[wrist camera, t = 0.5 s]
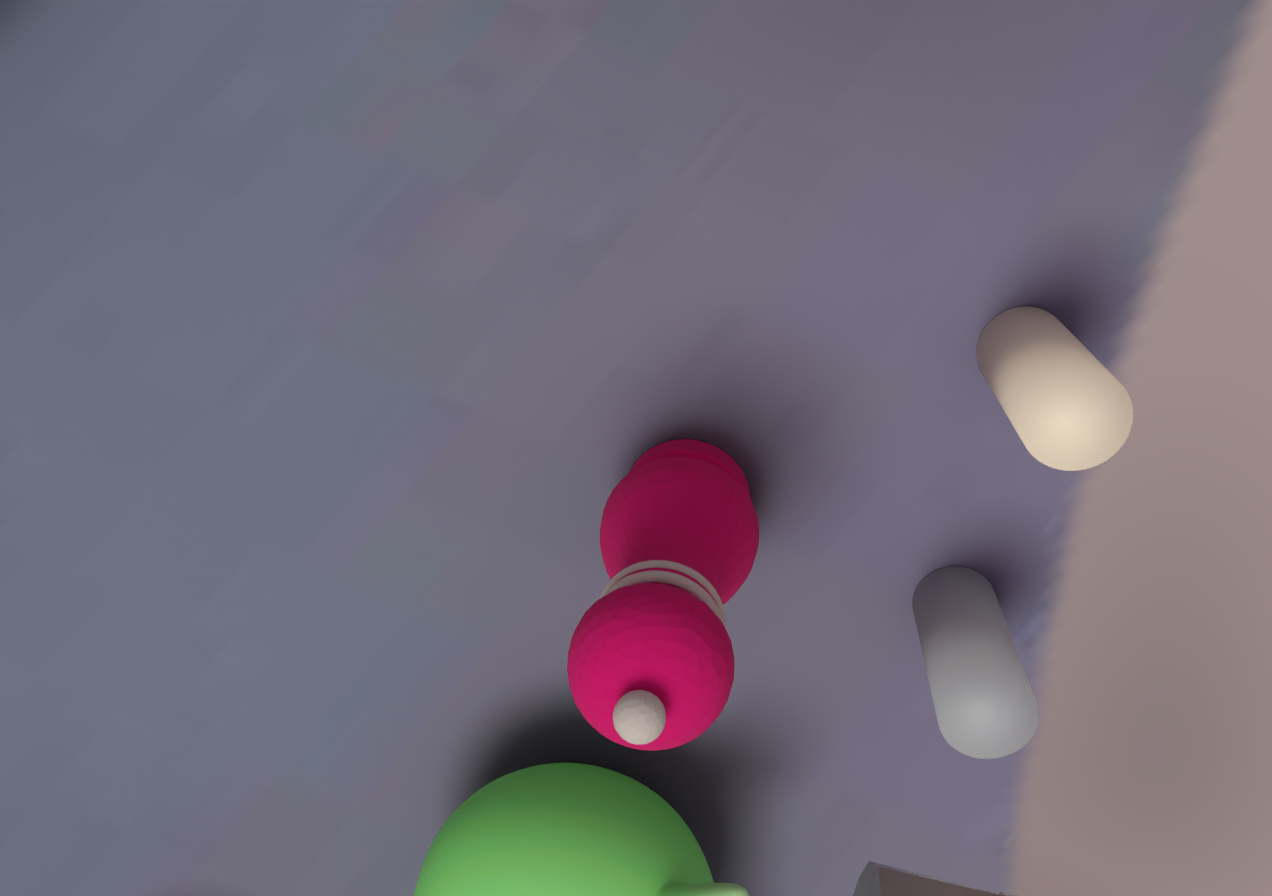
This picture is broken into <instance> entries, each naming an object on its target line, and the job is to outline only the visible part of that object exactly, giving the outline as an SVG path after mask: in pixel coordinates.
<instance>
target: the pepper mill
mask: <svg viewBox="0 0 1272 896" xmlns="http://www.w3.org/2000/svg"><path fill="white" fill-rule="evenodd" d="M758 543H759V526H758V519H757V515H756V512H755V509H754V506H753V504H752V501H751V495H750V489H749V485H748V482H747V479H746V477H745V474H744V473H743V471H742V469H741V468H740V466H739V465H738V464H737V463H736V462H735V461H734V460H733V458H732V457H731V456H730V455H728V454H727V453H725V452H724V451H723V450H721V449H720V448H718V447H716V446H714V445H711V444H709V443H706V442H702V441H699V440H691V439H679V440H672V441H668V442H664V443H661V444H659V445H657V446H655V447H653V448H651V449H649V450H648V451H647V452H645V453H644V454H643V455H642V456H641V457H640V458H639V459H638V460H637V461H636V462H635V464H634V465H633V467H632V468H631V470H630V472H629V474H628V475H627V476H625V477H624V478H623V479H622V480H621V481H620V482H619V484H618V485H617V486H616V487H615V489H614V490H613V491H612V493H611V495H610V497H609V498H608V500H607V503H606V506H605V508H604V511H603V517H602V523H601V528H600V546H601V552H602V557H603V560H604V564H605V567H606V570H607V573H608V575H609V577H610V579H611V580H610V581H609V582H608V583H607V585H606V586H605V588H604V590H603V592H602V594H601V596H600V599H599V600H598V601H596V602H595V603H594V604H593V605H592V606H591V607H590V608H589V609H588V610H587V611H586V612H585V614H584V616H583V617H582V619H581V621H580V622H579V624H578V626H577V627H576V629H575V631H574V634H573V636H572V639H571V644H570V648H569V652H568V666H567V672H568V679H569V686H570V690H571V693H572V695H573V698H574V700H575V703H576V705H577V707H578V709H579V710H580V712H581V713H582V715H583V716H584V718H585V719H586V720H587V721H588V723H589V724H590V725H591V726H593V727H594V728H595V729H596V730H597V731H598V732H599V733H600V734H602V735H603V736H605V737H606V738H608V739H610V740H611V741H613V742H615V743H618V744H620V745H623V746H626V747H629V748H634V749H638V750H651V751H656V750H665V749H671V748H674V747H678V746H681V745H683V744H685V743H687V742H690V741H692V740H694V739H696V738H697V737H698V736H699V735H701V734H702V733H703V732H705V731H706V730H707V729H708V728H709V727H710V726H711V724H712V723H713V722H714V721H715V720H716V719H717V718H718V717H719V715H720V713H721V711H722V710H723V708H724V706H725V704H726V702H727V700H728V697H729V694H730V690H731V687H732V684H733V680H734V655H733V649H732V644H731V640H730V638H729V636H728V633H727V631H726V629H725V623H726V620H725V612H724V607H723V604H725V603H726V602H727V601H728V600H729V599H730V598H731V597H732V596H733V595H734V594H735V593H736V592H737V591H738V589H739V588H740V587H741V585H742V584H743V583H744V581H745V580H746V579H747V577H748V575H749V573H750V571H751V569H752V566H753V562H754V559H755V556H756V552H757V548H758Z"/></svg>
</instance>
